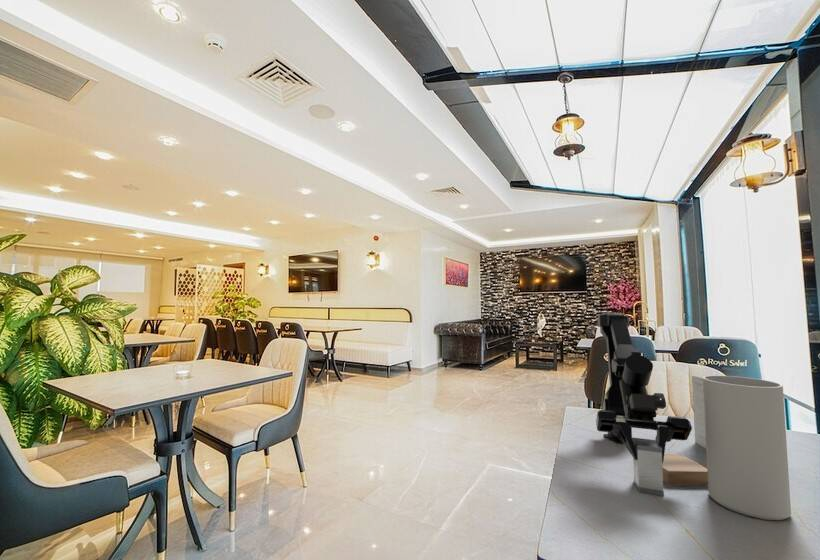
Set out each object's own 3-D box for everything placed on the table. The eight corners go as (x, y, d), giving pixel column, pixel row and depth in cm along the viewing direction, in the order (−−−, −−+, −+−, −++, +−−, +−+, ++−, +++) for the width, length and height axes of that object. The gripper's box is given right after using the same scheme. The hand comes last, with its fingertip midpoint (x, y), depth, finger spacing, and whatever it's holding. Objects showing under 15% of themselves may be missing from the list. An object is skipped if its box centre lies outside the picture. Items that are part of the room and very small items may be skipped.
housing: (633, 481, 86) (632, 437, 86) (657, 485, 84) (655, 440, 85) (639, 492, 81) (637, 445, 82) (664, 496, 79) (662, 448, 80)
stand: (642, 466, 94) (641, 453, 95) (681, 466, 94) (681, 454, 94) (669, 484, 84) (668, 471, 85) (713, 485, 84) (712, 471, 84)
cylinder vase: (775, 529, 68) (766, 389, 69) (696, 497, 79) (691, 378, 81) (802, 512, 73) (793, 383, 75) (725, 485, 84) (719, 373, 86)
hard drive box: (760, 465, 95) (756, 386, 97) (726, 463, 97) (722, 385, 98) (722, 443, 110) (719, 376, 112) (693, 442, 112) (690, 374, 113)
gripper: (596, 376, 91) (604, 437, 80) (686, 382, 85) (709, 449, 74) (593, 401, 98) (600, 460, 87) (676, 408, 92) (696, 473, 80)
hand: (648, 460), depth 82 cm, fingers closed on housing, 5 cm apart
